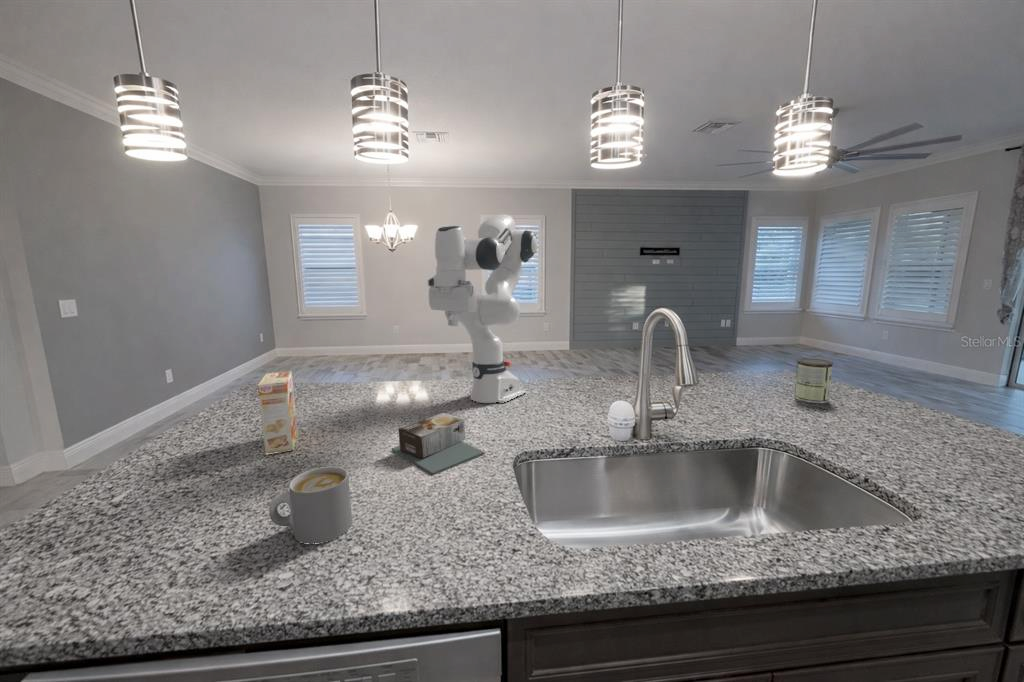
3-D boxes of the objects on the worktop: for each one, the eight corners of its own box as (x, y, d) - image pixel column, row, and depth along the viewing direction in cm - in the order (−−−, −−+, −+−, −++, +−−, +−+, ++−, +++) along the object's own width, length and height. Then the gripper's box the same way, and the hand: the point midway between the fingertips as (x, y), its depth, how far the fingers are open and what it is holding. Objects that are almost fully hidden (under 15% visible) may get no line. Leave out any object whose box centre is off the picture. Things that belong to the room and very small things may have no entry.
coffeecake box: (294, 451, 113) (286, 382, 110) (264, 456, 110) (255, 385, 107) (299, 432, 126) (292, 370, 123) (272, 436, 124) (265, 372, 121)
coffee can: (790, 394, 157) (794, 357, 155) (823, 396, 153) (827, 359, 151) (798, 401, 147) (802, 363, 145) (833, 404, 144) (837, 365, 141)
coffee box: (443, 432, 123) (398, 451, 110) (442, 412, 122) (397, 428, 109) (466, 439, 117) (421, 460, 105) (465, 418, 116) (420, 436, 104)
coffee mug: (356, 510, 84) (353, 464, 82) (346, 541, 74) (341, 489, 73) (285, 518, 82) (280, 470, 80) (265, 551, 72) (258, 497, 70)
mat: (441, 434, 123) (441, 432, 123) (484, 454, 109) (484, 452, 109) (391, 450, 112) (391, 448, 112) (432, 475, 98) (432, 472, 98)
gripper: (481, 280, 121) (482, 327, 123) (441, 280, 135) (442, 322, 138) (463, 280, 116) (465, 329, 119) (424, 280, 131) (426, 324, 133)
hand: (453, 325), depth 128 cm, fingers closed
